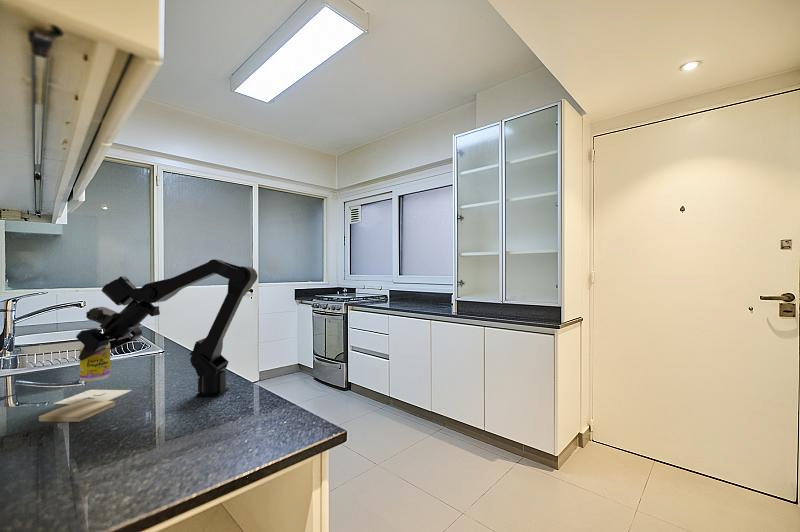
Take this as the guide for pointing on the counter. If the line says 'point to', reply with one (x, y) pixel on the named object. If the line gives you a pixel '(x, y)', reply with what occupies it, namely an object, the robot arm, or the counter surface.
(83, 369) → the supplement bottle
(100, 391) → the tile
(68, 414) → the oak pad
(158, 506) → the counter surface
